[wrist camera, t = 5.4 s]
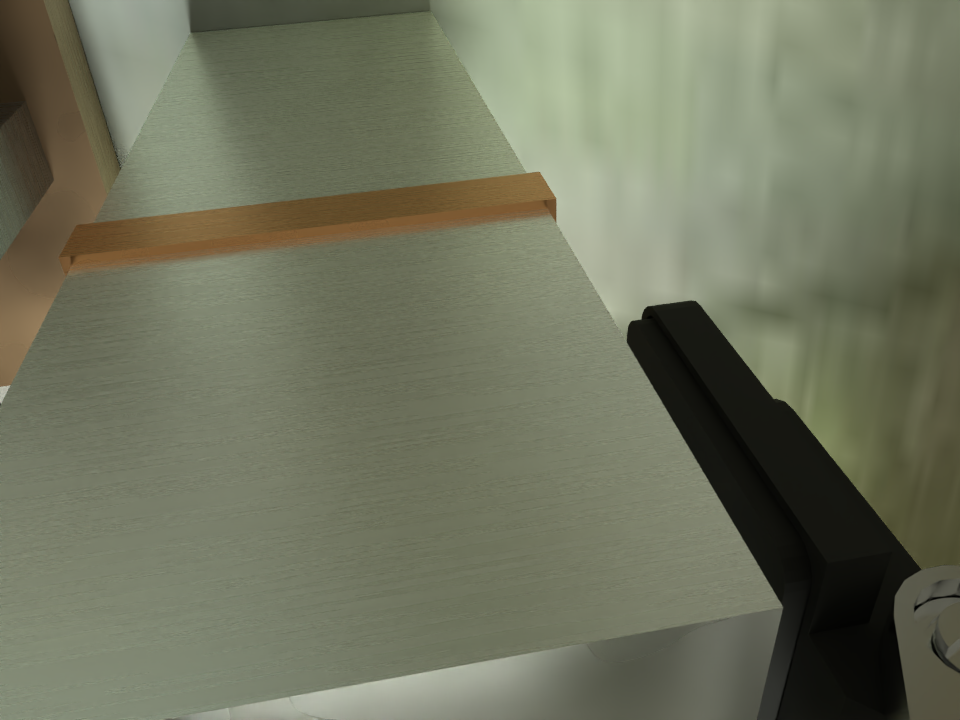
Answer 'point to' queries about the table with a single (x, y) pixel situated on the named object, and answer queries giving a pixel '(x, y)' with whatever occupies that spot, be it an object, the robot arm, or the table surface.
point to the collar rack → (43, 163)
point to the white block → (351, 427)
